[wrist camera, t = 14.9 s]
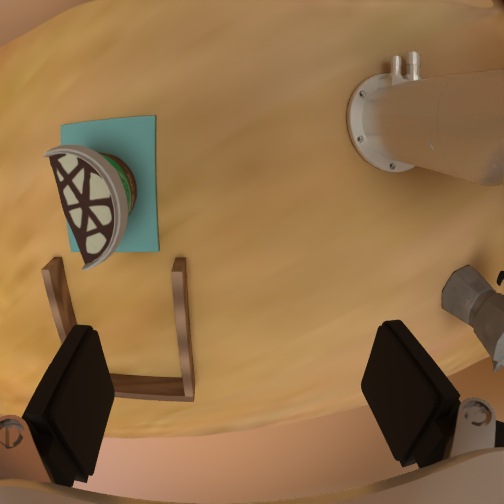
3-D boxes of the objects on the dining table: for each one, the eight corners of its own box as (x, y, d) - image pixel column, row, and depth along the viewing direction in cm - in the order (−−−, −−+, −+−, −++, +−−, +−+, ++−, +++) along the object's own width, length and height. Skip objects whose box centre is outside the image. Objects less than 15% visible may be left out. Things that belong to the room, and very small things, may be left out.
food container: (160, 227, 36) (140, 260, 27) (114, 240, 36) (83, 275, 27) (131, 125, 31) (98, 124, 22) (84, 143, 31) (41, 150, 22)
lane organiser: (54, 257, 37) (41, 269, 33) (185, 257, 38) (182, 271, 35) (87, 376, 44) (80, 392, 41) (195, 383, 46) (194, 401, 42)
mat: (63, 125, 31) (60, 125, 30) (156, 115, 32) (155, 115, 31) (73, 250, 36) (71, 252, 36) (159, 250, 38) (158, 252, 37)
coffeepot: (464, 320, 48) (522, 378, 31) (429, 324, 47) (488, 392, 30) (491, 242, 42) (565, 288, 26) (456, 238, 41) (538, 291, 25)
